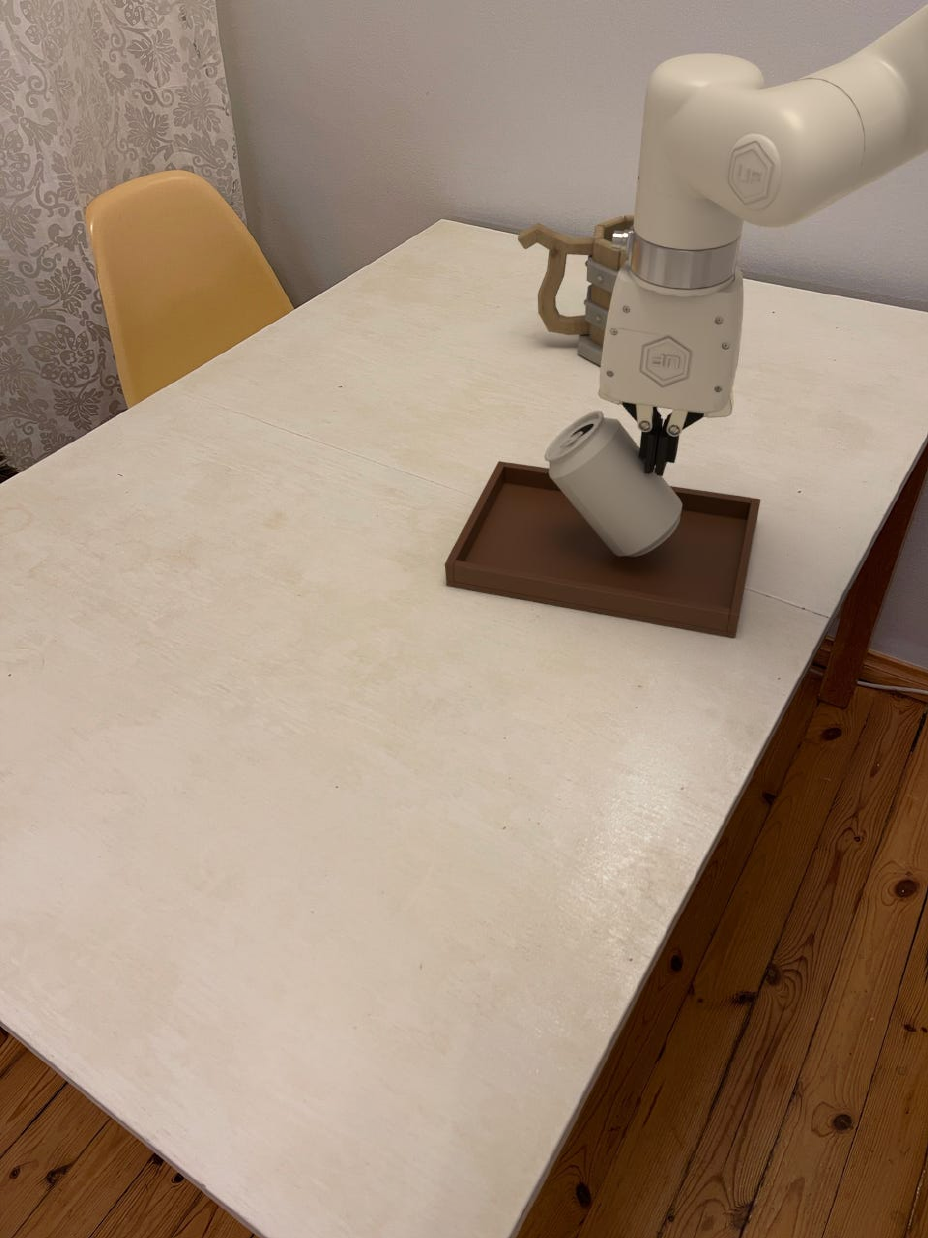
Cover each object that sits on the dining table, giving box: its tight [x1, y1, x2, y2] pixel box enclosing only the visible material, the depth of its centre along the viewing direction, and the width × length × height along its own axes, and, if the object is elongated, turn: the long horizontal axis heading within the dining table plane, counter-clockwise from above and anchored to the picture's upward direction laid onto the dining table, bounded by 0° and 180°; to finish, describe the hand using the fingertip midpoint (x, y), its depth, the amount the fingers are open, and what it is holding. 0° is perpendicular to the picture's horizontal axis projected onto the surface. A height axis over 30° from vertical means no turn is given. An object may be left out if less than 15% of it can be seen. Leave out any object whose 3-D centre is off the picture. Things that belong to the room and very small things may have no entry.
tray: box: [444, 460, 761, 639], centre depth 89 cm, size 26×17×3 cm, turn 72°
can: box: [544, 410, 682, 557], centre depth 84 cm, size 8×8×12 cm
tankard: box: [517, 214, 634, 367], centre depth 113 cm, size 20×13×15 cm, turn 82°
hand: (656, 465), depth 82 cm, fingers closed
